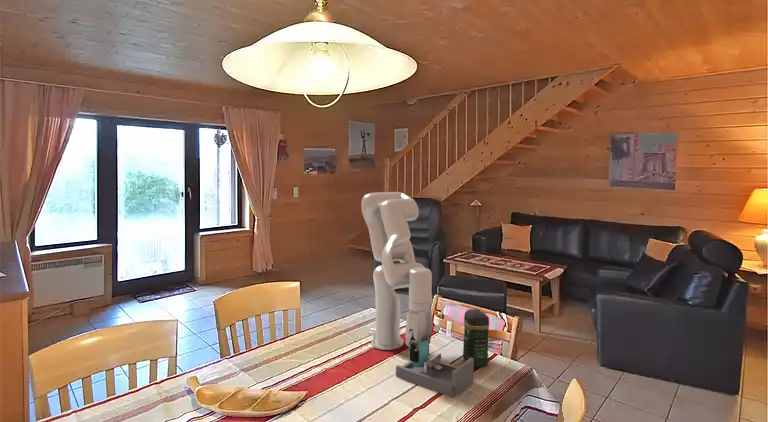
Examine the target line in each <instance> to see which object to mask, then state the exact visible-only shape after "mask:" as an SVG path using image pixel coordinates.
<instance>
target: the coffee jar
mask: <svg viewBox="0 0 768 422" xmlns="http://www.w3.org/2000/svg"><path fill="white" fill-rule="evenodd" d="M463 325H464V326H463V327H464V329H463V331H464V332H463V349H462V352H463V353H462V358H463V361H464V362H465V361H467V360H468V359H469V358H473V359H474V367H475V368H483V367H485V366H487V365H488V362H489V361H488V359H489V355H488V354H489V328H490V317H489V316H488V314H486V313H485V312H483V311H482V310H480V309H476V308H475V309H474V308H471V309H469V308H468V309H467V310H466V311H465V312H464V316H463Z"/></svg>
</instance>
